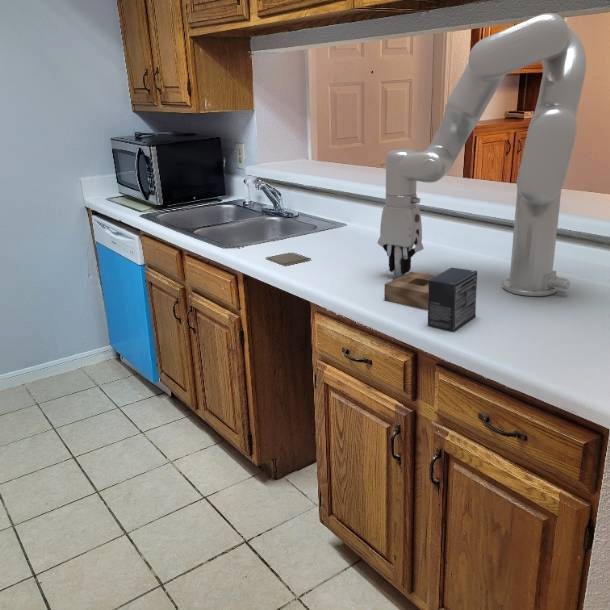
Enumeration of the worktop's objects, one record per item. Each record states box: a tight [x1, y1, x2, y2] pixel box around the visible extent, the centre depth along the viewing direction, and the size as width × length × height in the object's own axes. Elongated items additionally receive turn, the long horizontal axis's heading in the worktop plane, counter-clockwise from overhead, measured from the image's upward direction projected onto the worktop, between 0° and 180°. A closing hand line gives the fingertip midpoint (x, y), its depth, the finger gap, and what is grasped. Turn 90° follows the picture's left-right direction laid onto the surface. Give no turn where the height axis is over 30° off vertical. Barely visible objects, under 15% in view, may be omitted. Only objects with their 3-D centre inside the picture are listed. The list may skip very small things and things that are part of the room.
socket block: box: [383, 271, 436, 311], centre depth 142 cm, size 12×12×4 cm
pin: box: [393, 246, 406, 280], centre depth 156 cm, size 3×3×10 cm
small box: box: [427, 267, 478, 333], centre depth 127 cm, size 11×6×10 cm, turn 141°
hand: (399, 270), depth 157 cm, fingers closed on pin, 3 cm apart
